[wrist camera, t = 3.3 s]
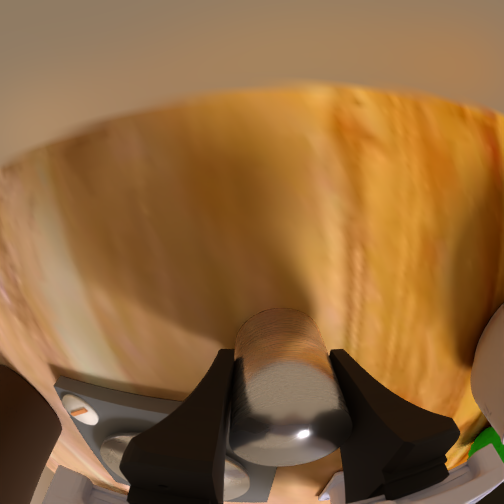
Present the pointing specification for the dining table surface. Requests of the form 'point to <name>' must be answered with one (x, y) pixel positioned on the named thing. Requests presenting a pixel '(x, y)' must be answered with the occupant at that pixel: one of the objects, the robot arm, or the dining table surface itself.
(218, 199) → the dining table surface
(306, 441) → the cylinder
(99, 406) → the scale base
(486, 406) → the teacup
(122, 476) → the scale pan
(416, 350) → the dining table surface
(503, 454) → the ornament
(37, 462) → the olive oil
